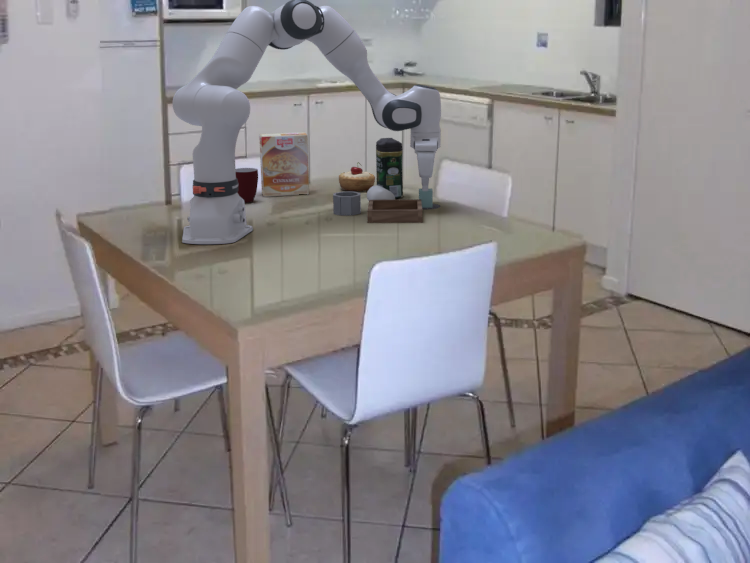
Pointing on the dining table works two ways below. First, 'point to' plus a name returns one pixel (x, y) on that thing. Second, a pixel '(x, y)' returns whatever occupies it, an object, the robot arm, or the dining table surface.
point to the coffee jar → (389, 165)
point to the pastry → (356, 180)
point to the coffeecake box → (284, 164)
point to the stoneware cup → (347, 203)
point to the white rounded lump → (379, 194)
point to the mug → (247, 183)
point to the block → (426, 198)
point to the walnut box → (395, 211)
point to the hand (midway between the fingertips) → (424, 188)
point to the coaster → (433, 207)
